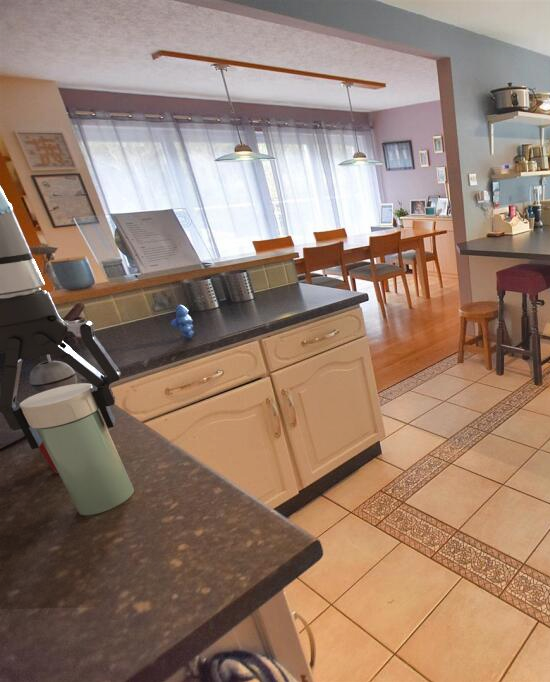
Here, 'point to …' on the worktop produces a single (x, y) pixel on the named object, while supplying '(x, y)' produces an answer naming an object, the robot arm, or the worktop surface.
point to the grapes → (183, 322)
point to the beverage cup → (51, 375)
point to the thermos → (88, 463)
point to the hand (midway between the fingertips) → (76, 434)
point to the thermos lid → (59, 405)
